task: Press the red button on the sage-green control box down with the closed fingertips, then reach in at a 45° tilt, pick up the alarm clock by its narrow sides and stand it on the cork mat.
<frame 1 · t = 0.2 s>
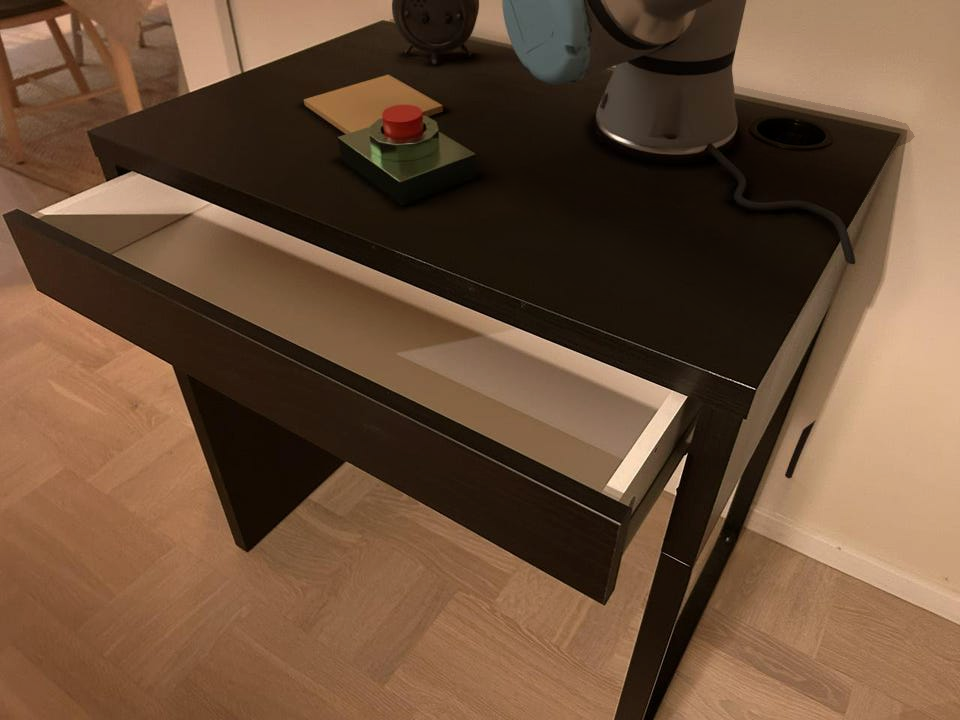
alarm clock: (437, 60, 101), on the table
control box: (407, 169, 78), on the table
cork mat: (373, 108, 89), on the table
button: (403, 122, 75), point 5 cm above the table, slide at 0.1 cm
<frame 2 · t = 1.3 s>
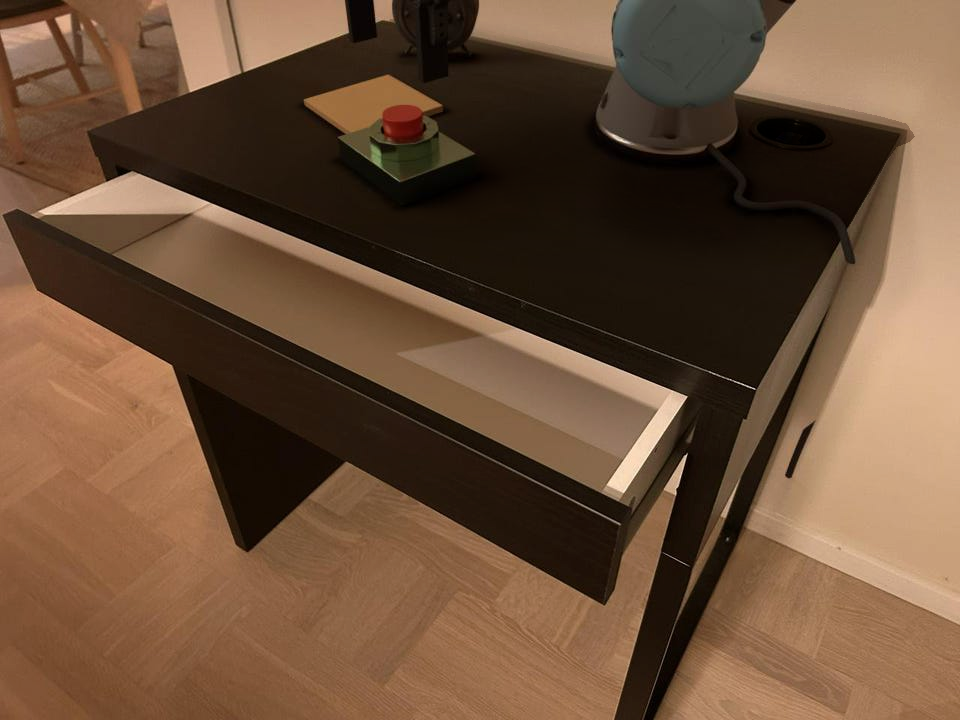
hand: (396, 58, 71), 11 cm above the table, tool pointing down, fingers open, 12 cm apart
nothing on the table moved.
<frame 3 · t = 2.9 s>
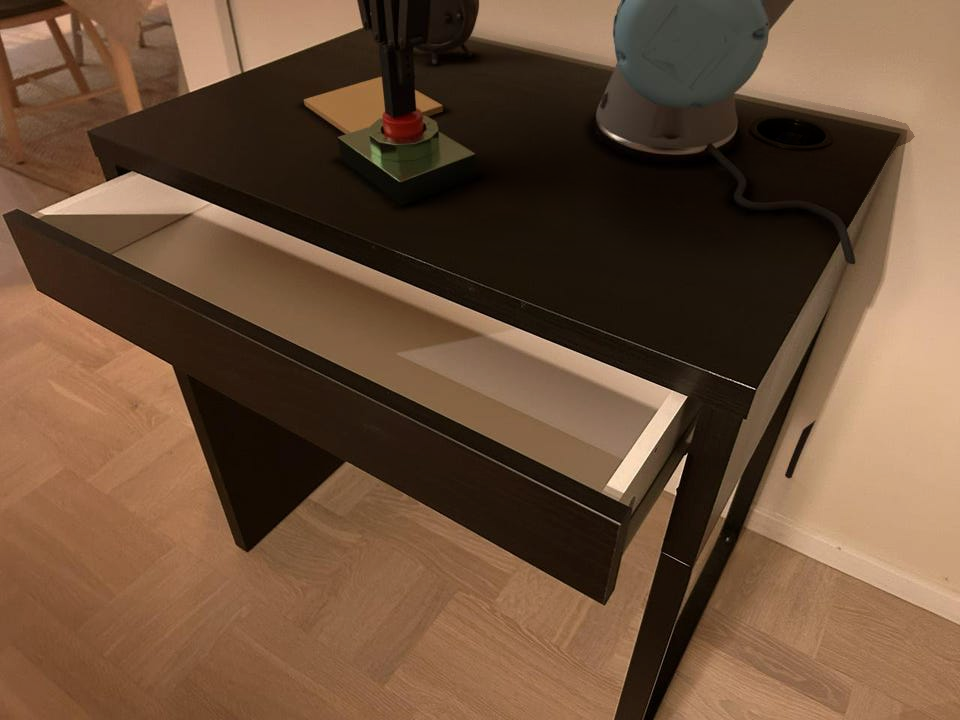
hand: (400, 111, 74), 6 cm above the table, tool pointing down, fingers closed
button: (403, 124, 75), point 5 cm above the table, slide at -0.1 cm, touching gripper
everything else where it was.
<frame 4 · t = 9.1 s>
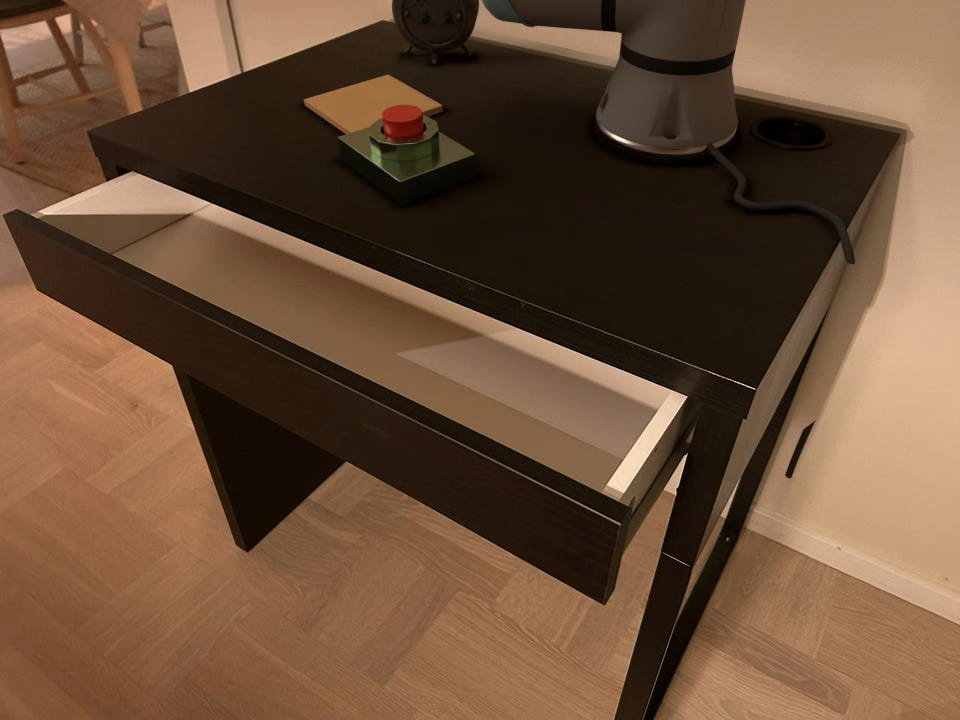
button: (403, 122, 75), point 5 cm above the table, slide at 0.1 cm
everything else where it was.
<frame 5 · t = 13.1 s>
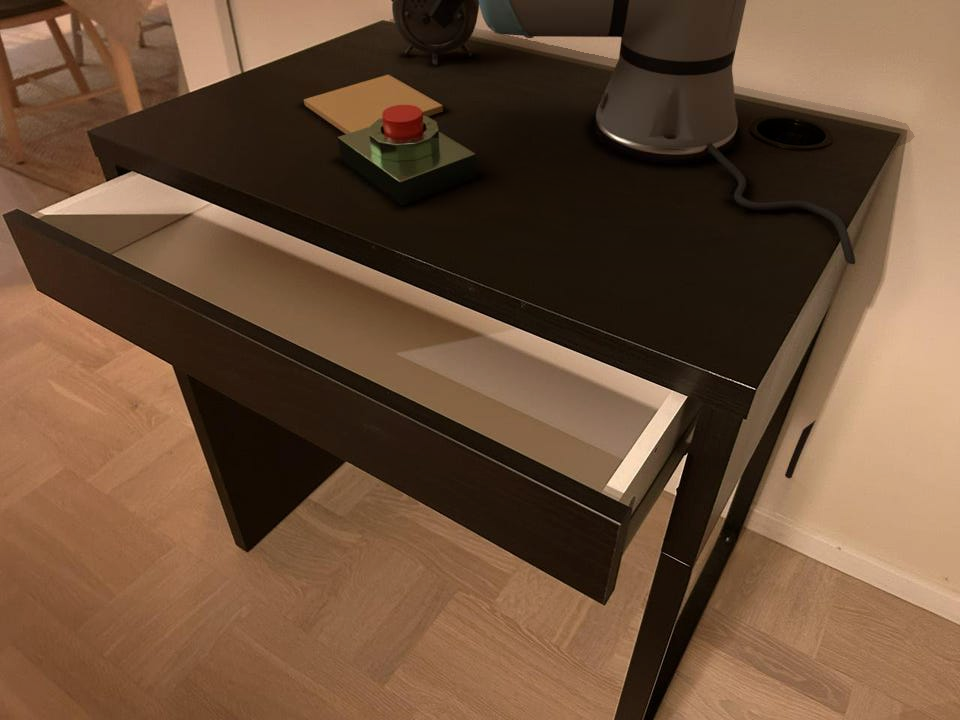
hand: (413, 10, 95), 7 cm above the table, tool tilted 45°, fingers closed on alarm clock, 10 cm apart
alarm clock: (438, 60, 101), on the table, touching gripper
everything else where it was.
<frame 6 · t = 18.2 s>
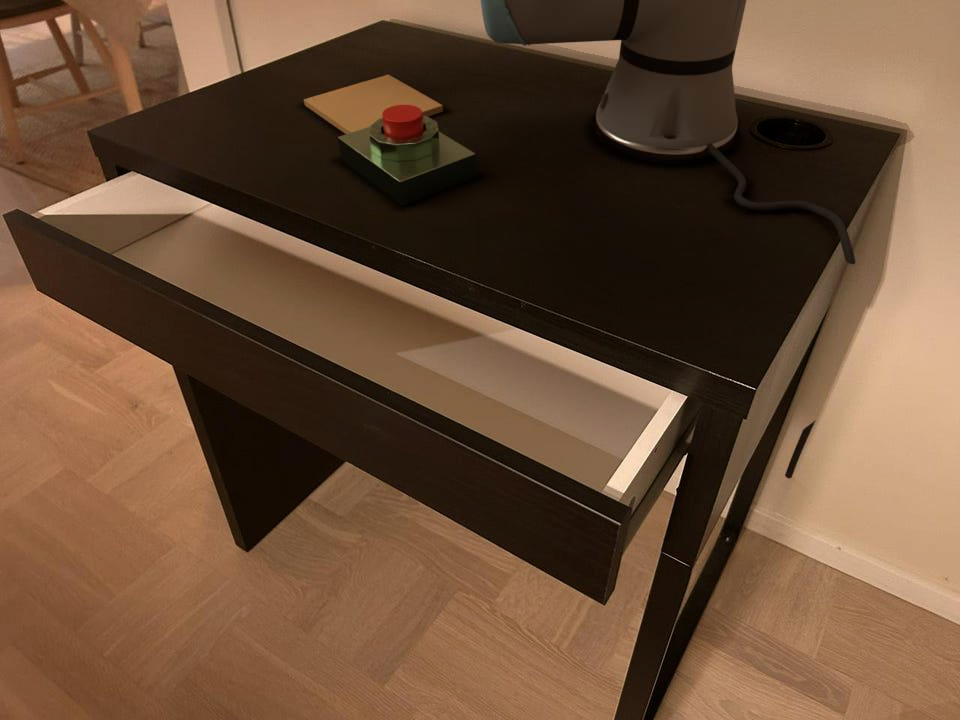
when the fingers open (7 cm above the table, at t = 23.2 s): alarm clock stays where it is, resting on cork mat.
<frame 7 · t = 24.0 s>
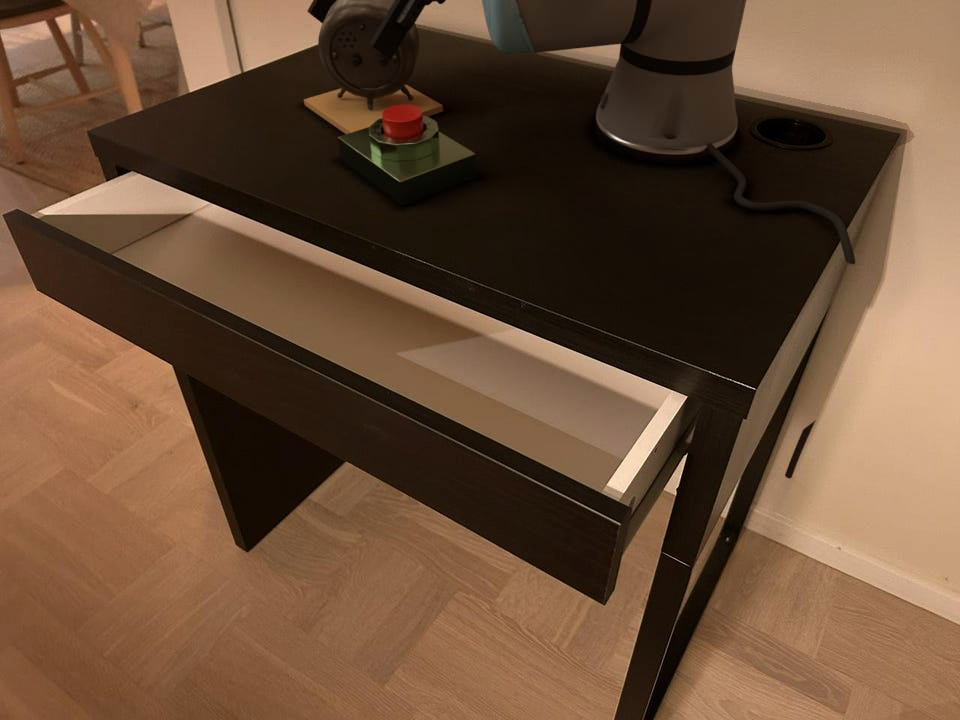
hand: (346, 35, 82), 9 cm above the table, tool tilted 45°, fingers open, 13 cm apart
alarm clock: (375, 105, 88), point 1 cm above the table, touching cork mat
everything else where it was.
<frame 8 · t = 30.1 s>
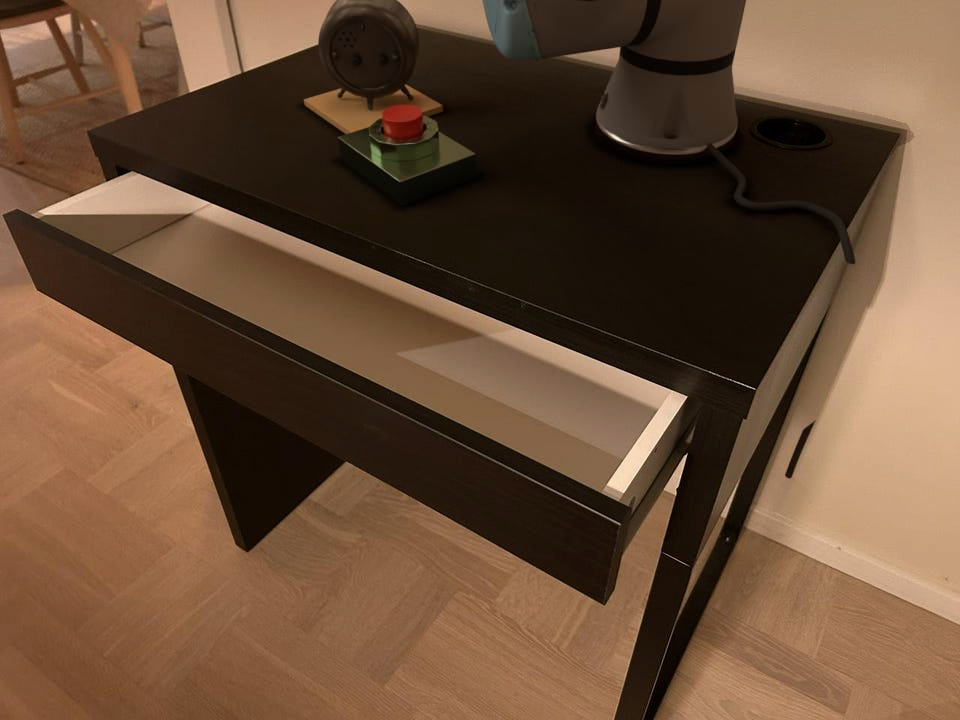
nothing on the table moved.
at the end: button pushed in 1.0 cm at the most during the clip, back to where it started at the end; alarm clock inside the target area on the cork mat (0.5 cm from its centre), point 0.6 cm above the cork mat's base; alarm clock tilted 0° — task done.
